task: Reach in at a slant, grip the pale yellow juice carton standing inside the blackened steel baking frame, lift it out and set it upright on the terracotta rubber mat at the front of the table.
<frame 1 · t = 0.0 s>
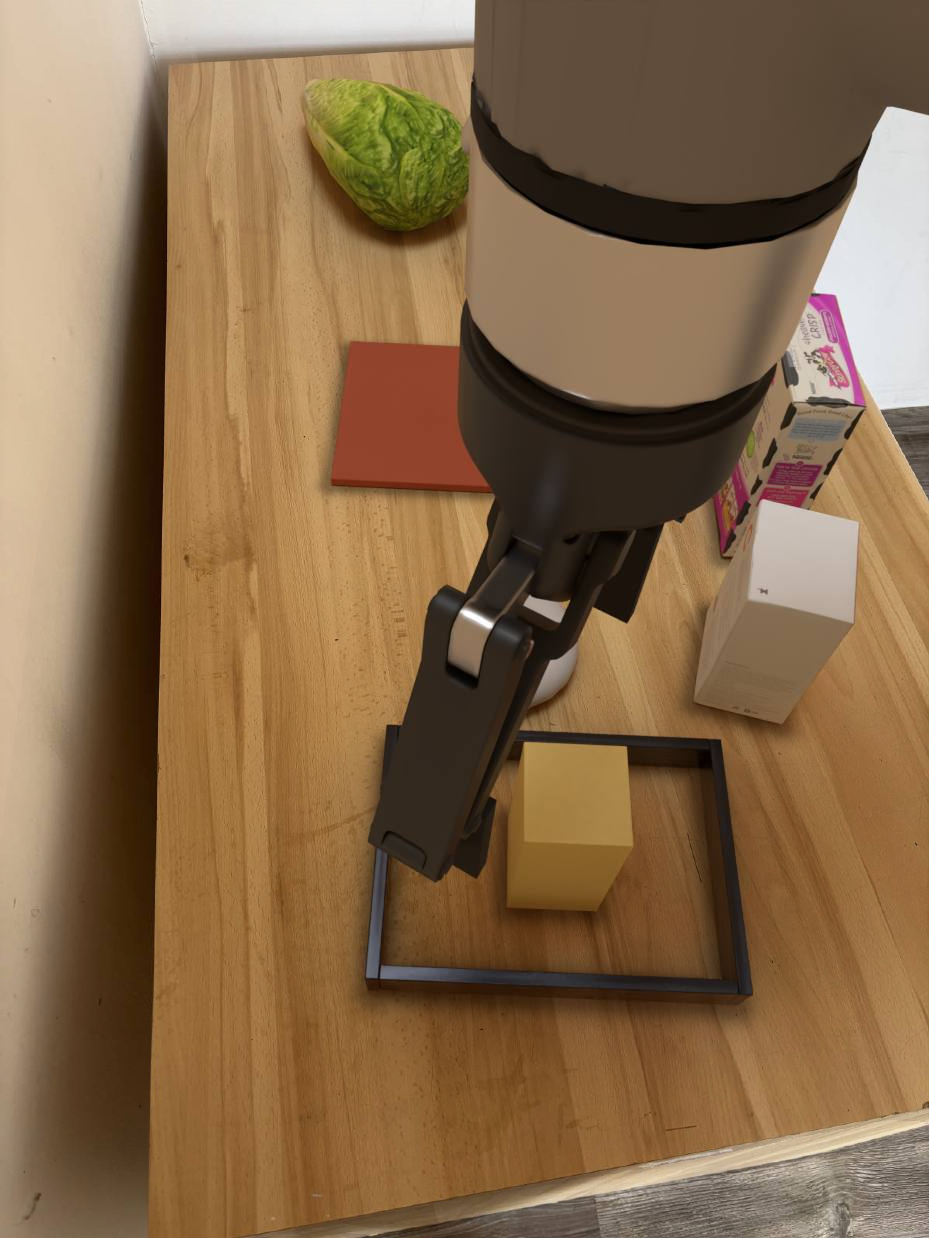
hand: (533, 719, 40), 22 cm above the table, tool pointing down, fingers open, 13 cm apart
baking frame: (551, 865, 58), on the table
mat: (460, 418, 79), on the table
carton: (562, 832, 53), in the baking frame
candy bar box: (743, 506, 75), on the table
donut: (505, 657, 66), on the table
small box: (742, 668, 67), on the table
lettuce: (375, 183, 96), on the table
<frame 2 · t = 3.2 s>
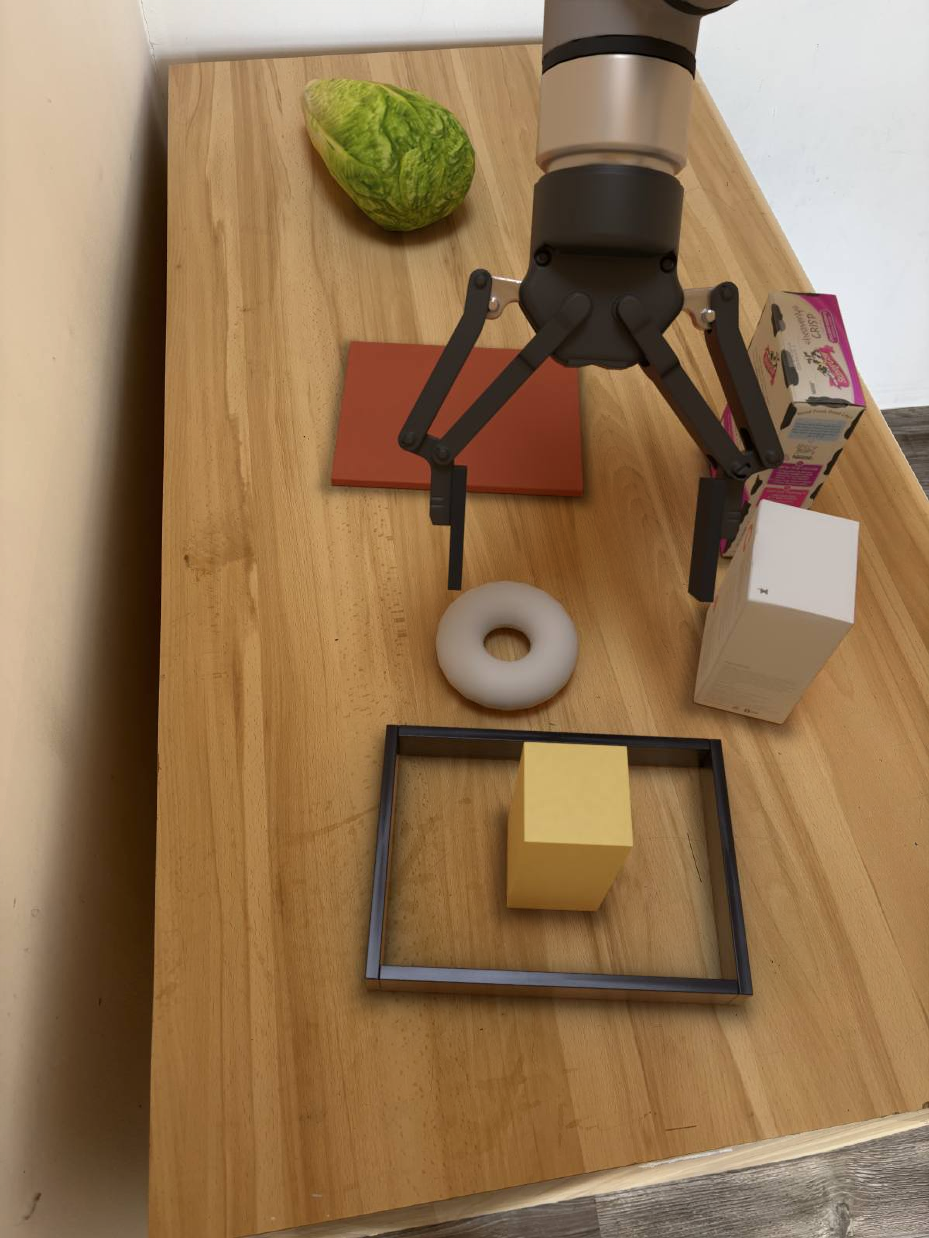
hand: (577, 592, 51), 15 cm above the table, tool tilted 45°, fingers open, 13 cm apart
nothing on the table moved.
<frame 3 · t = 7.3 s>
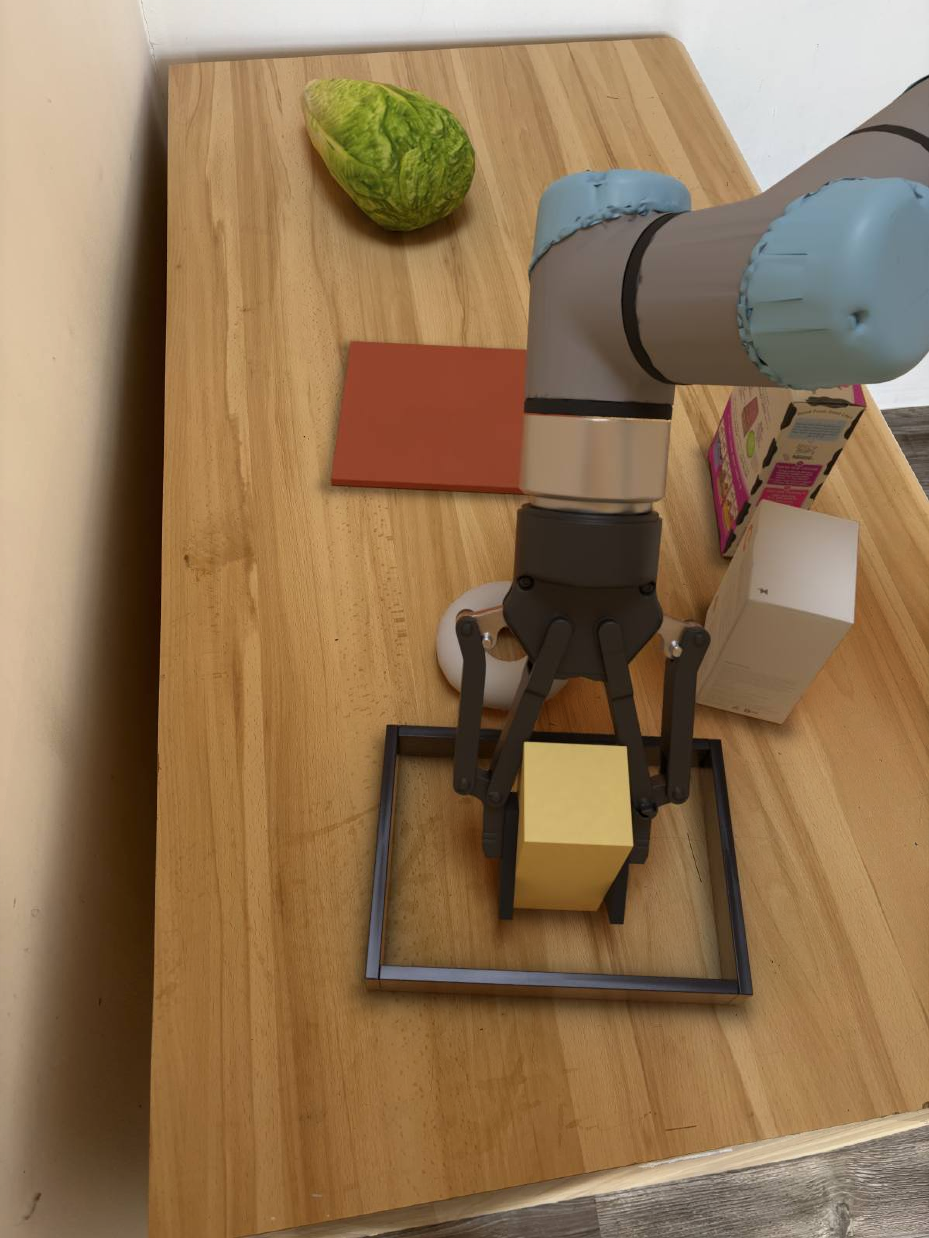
hand: (559, 908, 53), 4 cm above the table, tool tilted 45°, fingers closed on carton, 5 cm apart
carton: (562, 832, 53), in the baking frame, touching gripper
everything else where it was.
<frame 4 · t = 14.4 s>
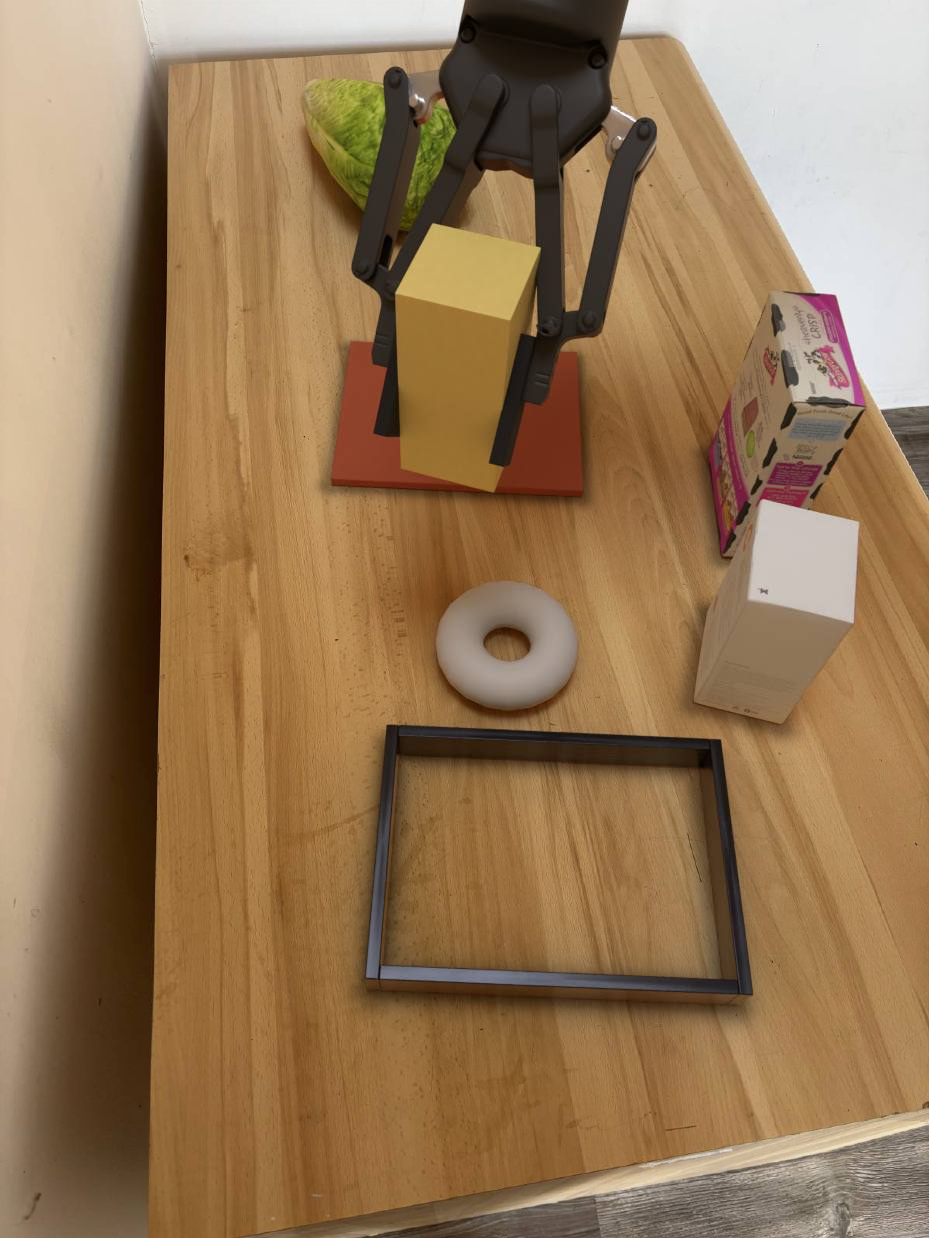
hand: (443, 448, 49), 21 cm above the table, tool tilted 45°, fingers closed on carton, 5 cm apart
carton: (465, 367, 49), point 23 cm above the table, touching gripper
everything else where it was.
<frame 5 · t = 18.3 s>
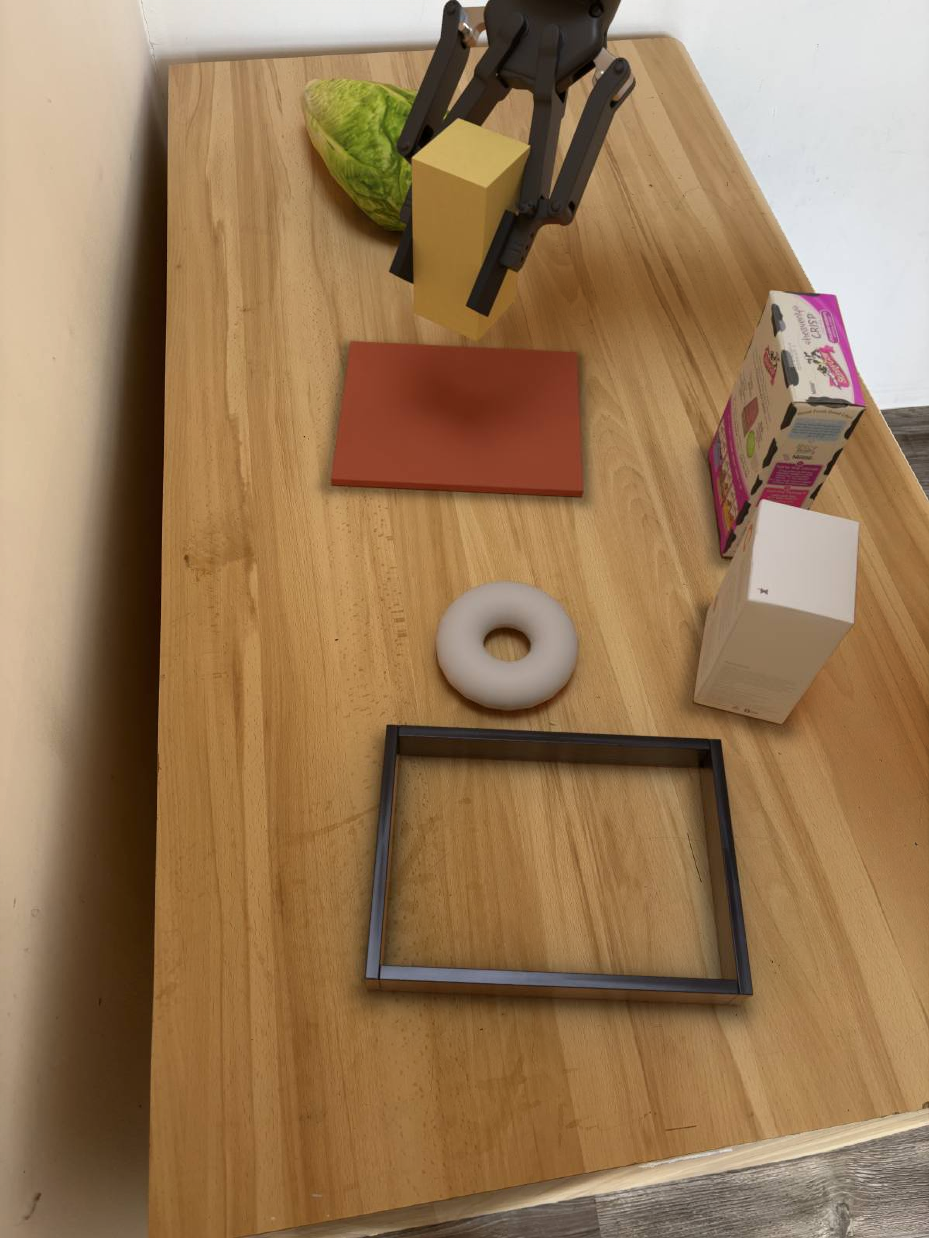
hand: (438, 294, 64), 15 cm above the table, tool tilted 45°, fingers closed on carton, 5 cm apart
carton: (468, 235, 64), point 18 cm above the table, touching gripper
everything else where it was.
when the fingers open (4 cm above the table, at t = 21.4 s): carton stays where it is, resting on mat.
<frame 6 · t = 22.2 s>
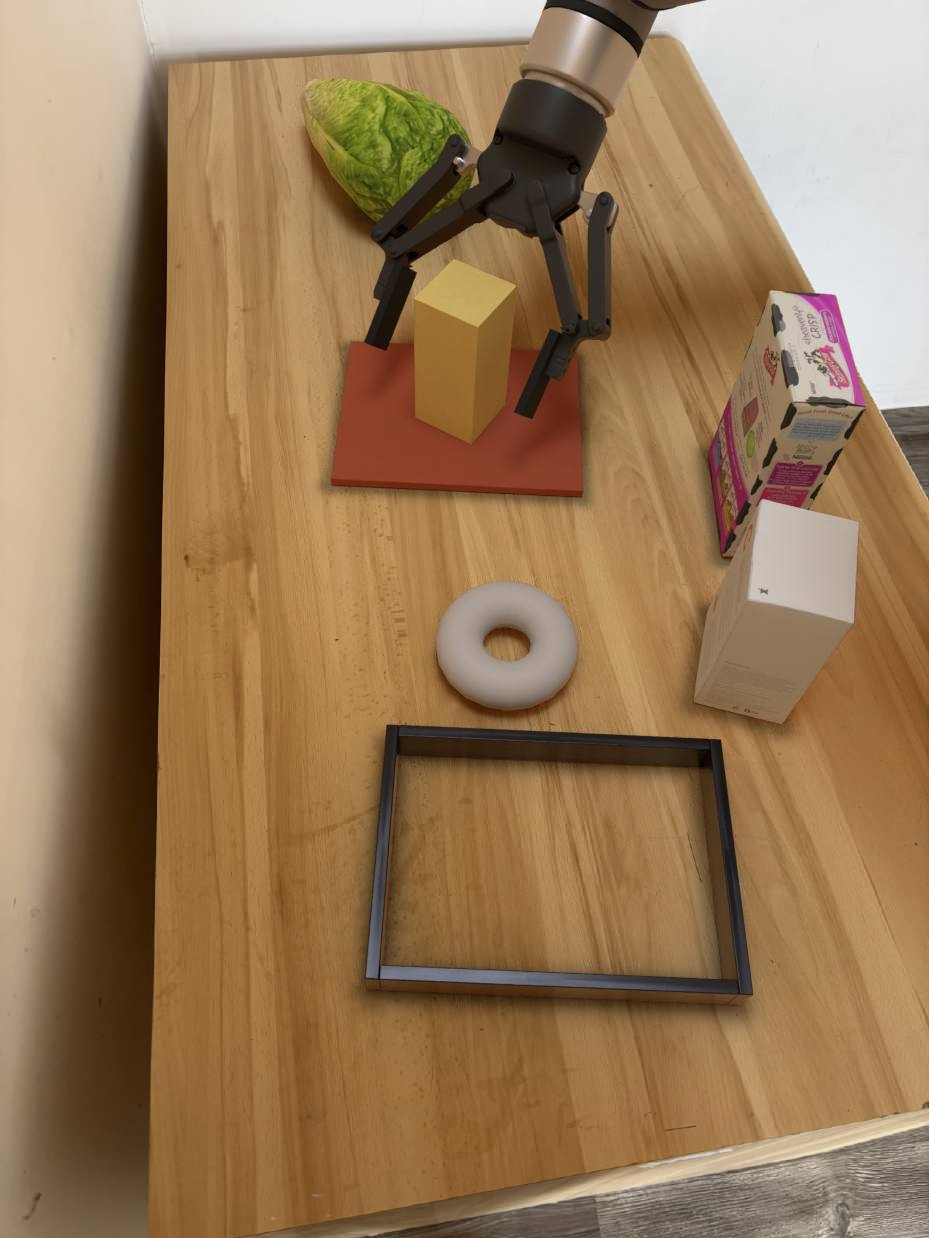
hand: (447, 381, 72), 6 cm above the table, tool tilted 45°, fingers open, 13 cm apart
carton: (462, 355, 73), on the mat, point 7 cm above the table
everything else where it was.
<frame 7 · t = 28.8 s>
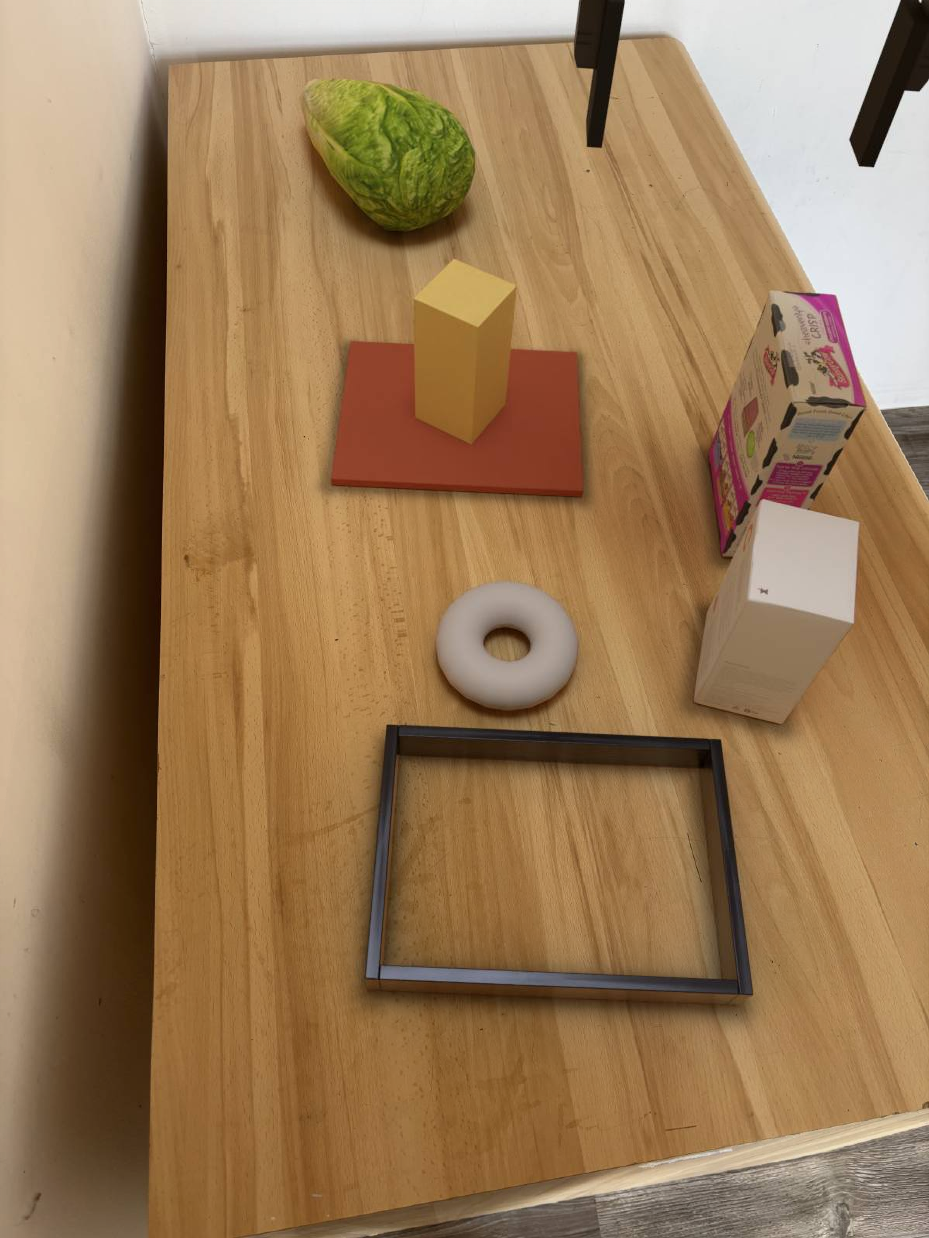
hand: (727, 145, 47), 31 cm above the table, tool pointing down, fingers open, 13 cm apart
nothing on the table moved.
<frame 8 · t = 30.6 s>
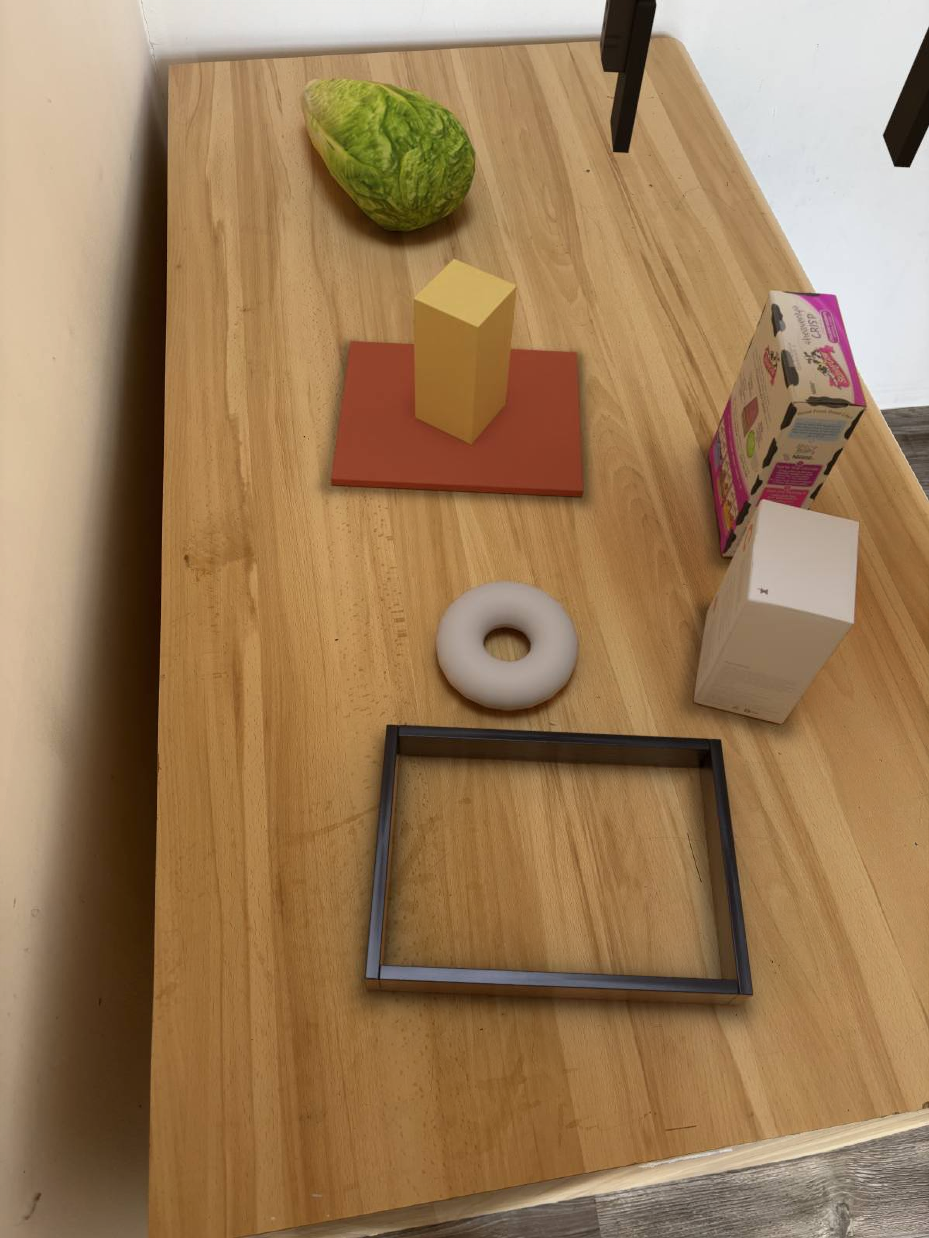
hand: (757, 145, 46), 32 cm above the table, tool pointing down, fingers open, 13 cm apart
nothing on the table moved.
at the end: carton inside the target area on the mat (0.1 cm from its centre), point 6.8 cm above the mat's base; carton tilted 0°; the gripper is holding nothing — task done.
